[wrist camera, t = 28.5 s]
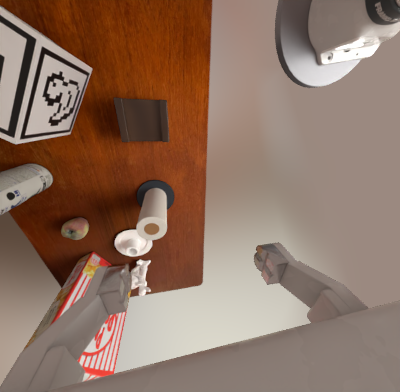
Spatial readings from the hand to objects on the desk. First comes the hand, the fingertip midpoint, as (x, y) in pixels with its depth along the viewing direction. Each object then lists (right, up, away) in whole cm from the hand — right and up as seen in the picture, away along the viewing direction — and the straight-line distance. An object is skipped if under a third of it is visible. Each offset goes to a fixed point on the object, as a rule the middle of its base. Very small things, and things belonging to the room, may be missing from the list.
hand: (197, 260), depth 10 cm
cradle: (-13, +22, +28) cm, 38 cm away
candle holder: (-23, -12, +44) cm, 51 cm away
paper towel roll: (-12, 0, +30) cm, 33 cm away
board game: (-34, -23, +47) cm, 63 cm away
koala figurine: (-22, -22, +49) cm, 58 cm away
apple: (-35, -4, +37) cm, 51 cm away
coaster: (-13, +4, +38) cm, 40 cm away
